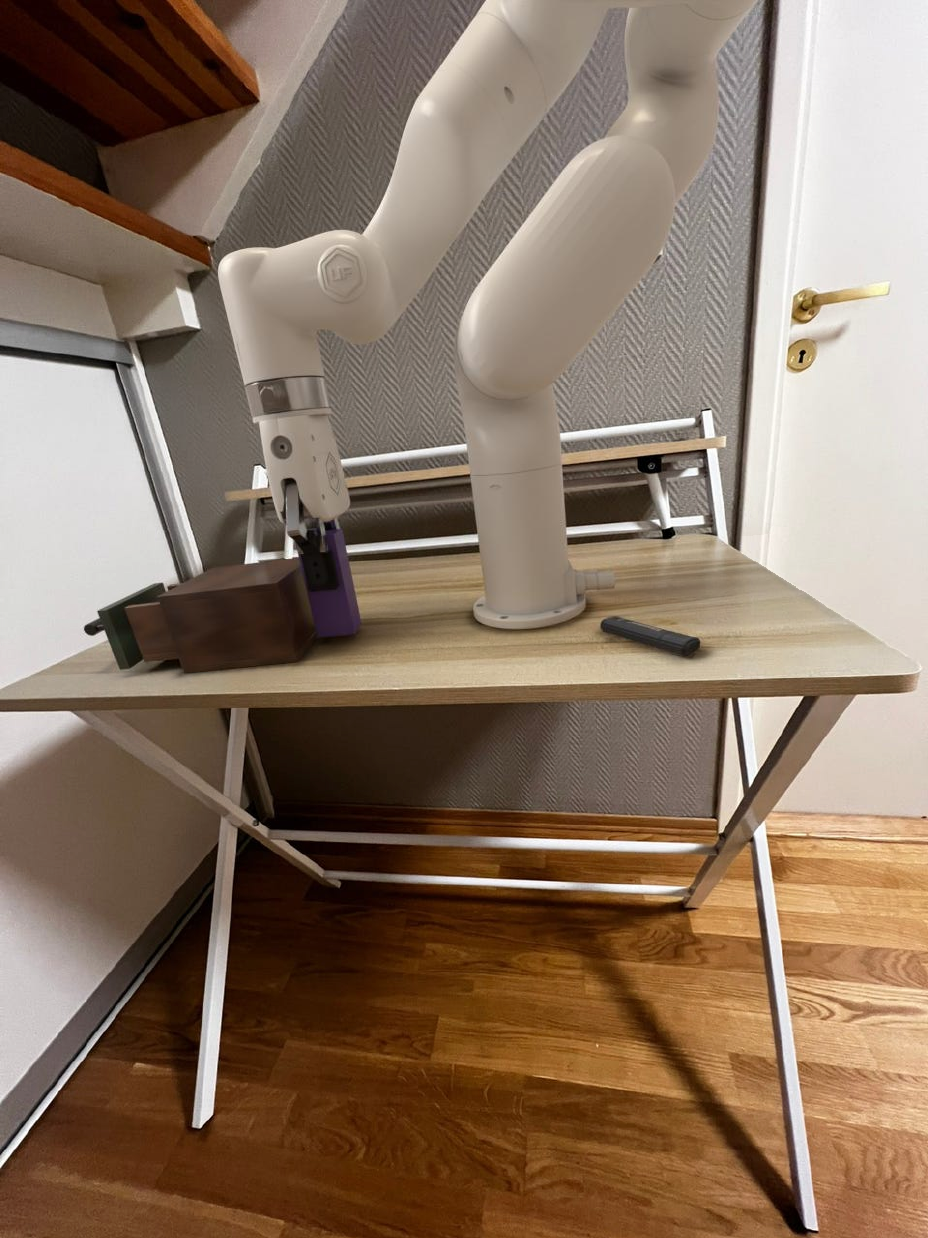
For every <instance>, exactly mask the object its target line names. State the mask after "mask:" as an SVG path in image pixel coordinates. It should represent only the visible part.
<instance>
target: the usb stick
mask: <svg viewBox="0 0 928 1238" xmlns="http://www.w3.org/2000/svg"><path fill="white" fill-rule="evenodd" d="M599 627H600V630H601V631H602V633H604V634H608V635H612V636H615V637H618V638H622V639H624V640H628V641H632V642H634V643H637V644H641V645H644V646H647V647H650V648H654V649H657V650H658V651H664V652H667V653H670V654H673V655H677V656H680V657H684V658H685V657H686V658H687V657H691V656H692V655H693V654H695V653H697V651H699V649H700V648H701V640H700V638H699V637H696V636H691V635H688V634H684V633H680V632H676V631H673V630H669V629H668V630H667V629H666V628H665V629H664V628H661V627H657V626H653V625H650V624H646V623H643V622H639V621H634V620H632V619H628V618H624V617H620V616H617V615H613V616H610V617H606V618H604V619H602V620H601V621H600V625H599Z"/></svg>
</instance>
